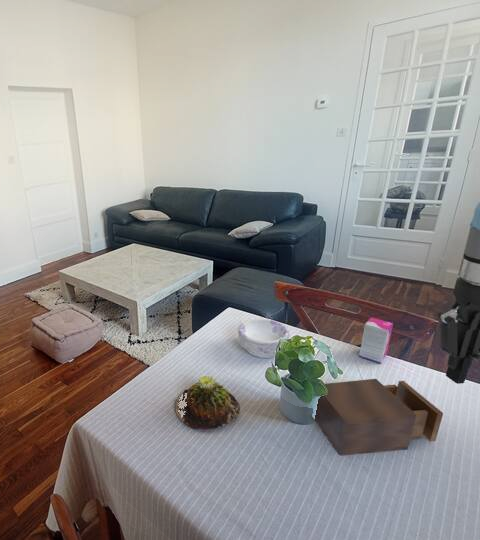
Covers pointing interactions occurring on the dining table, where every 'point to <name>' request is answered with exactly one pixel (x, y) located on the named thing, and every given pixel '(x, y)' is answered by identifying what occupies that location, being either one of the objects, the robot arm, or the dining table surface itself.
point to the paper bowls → (262, 336)
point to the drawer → (419, 411)
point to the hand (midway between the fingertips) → (454, 379)
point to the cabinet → (364, 418)
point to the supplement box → (375, 340)
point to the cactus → (208, 405)
